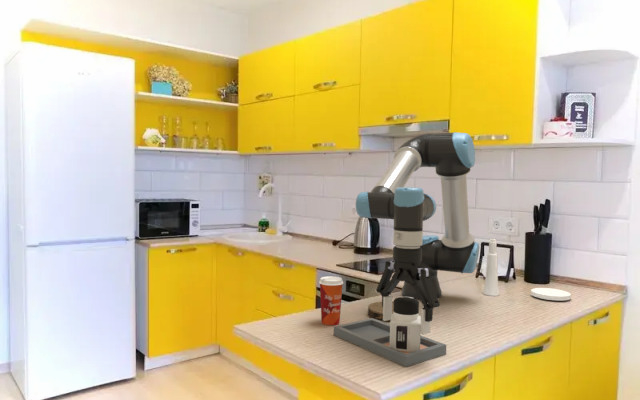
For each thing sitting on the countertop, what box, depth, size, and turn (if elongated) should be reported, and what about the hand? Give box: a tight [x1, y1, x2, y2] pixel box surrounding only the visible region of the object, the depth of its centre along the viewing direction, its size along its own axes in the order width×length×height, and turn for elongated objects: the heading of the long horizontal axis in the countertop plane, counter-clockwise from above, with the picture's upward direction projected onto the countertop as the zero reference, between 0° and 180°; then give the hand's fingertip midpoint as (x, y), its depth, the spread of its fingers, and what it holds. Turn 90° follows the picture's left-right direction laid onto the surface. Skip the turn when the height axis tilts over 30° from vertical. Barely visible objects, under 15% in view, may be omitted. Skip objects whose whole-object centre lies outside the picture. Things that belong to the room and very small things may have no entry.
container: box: [389, 296, 422, 352], centre depth 128 cm, size 8×8×13 cm
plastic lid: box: [530, 287, 572, 302], centre depth 189 cm, size 14×14×2 cm
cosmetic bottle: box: [482, 238, 500, 297], centre depth 192 cm, size 6×6×22 cm
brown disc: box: [367, 300, 394, 323], centre depth 161 cm, size 16×16×3 cm
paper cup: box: [318, 275, 344, 326], centre depth 152 cm, size 8×8×14 cm
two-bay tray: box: [333, 317, 447, 368], centre depth 134 cm, size 28×15×2 cm, turn 37°
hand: (405, 326), depth 128 cm, fingers open, 13 cm apart
